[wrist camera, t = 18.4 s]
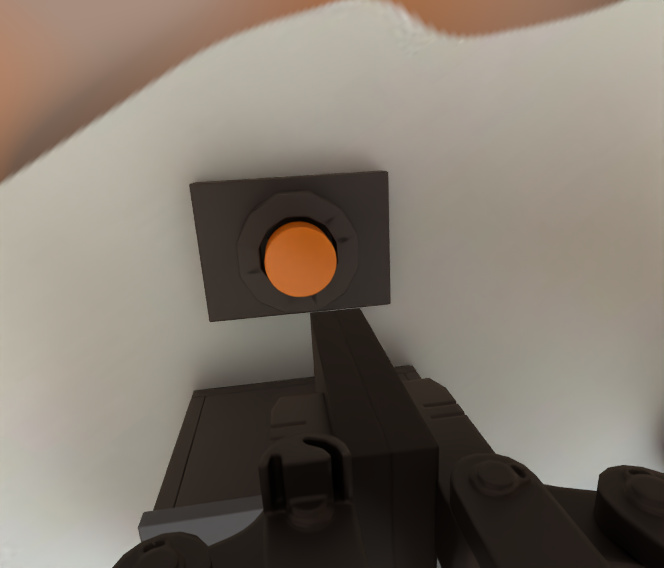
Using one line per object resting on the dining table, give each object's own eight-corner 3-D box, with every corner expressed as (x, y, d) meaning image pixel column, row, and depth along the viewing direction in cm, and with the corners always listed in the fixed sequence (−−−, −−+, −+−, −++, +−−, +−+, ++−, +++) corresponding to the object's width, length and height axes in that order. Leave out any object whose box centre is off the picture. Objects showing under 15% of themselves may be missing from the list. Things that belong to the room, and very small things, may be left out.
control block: (193, 182, 24) (181, 186, 21) (381, 170, 26) (398, 172, 22) (212, 313, 27) (204, 335, 23) (384, 297, 28) (400, 315, 25)
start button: (261, 223, 22) (260, 229, 20) (329, 218, 23) (334, 224, 21) (268, 288, 23) (268, 300, 22) (333, 283, 24) (338, 293, 22)
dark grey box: (193, 390, 28) (146, 526, 18) (412, 364, 30) (488, 475, 19) (226, 584, 33) (204, 781, 22) (413, 553, 34) (473, 723, 24)
